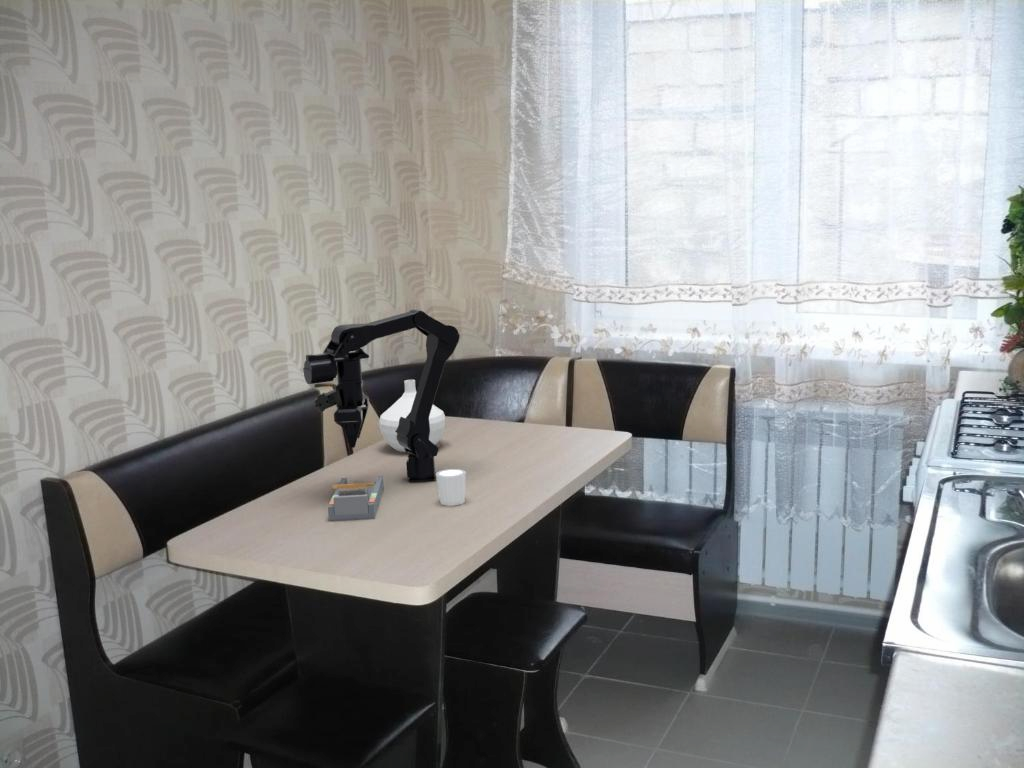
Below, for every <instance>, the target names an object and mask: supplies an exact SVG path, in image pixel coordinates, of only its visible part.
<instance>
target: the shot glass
mask: <svg viewBox="0 0 1024 768" xmlns="http://www.w3.org/2000/svg"><path fill="white" fill-rule="evenodd" d="M466 480H467V471H465V470H464V469H461V468H460V469H459V468H448V469H442V470H440V471H436V483H437V490H438V495H439V502H440V504H441V505H443V506H449V507H450V506H452V507H453V506H454V507H455V506H459V504H460V505H463V504H465V502H466V487H467V485H466V484H467V483H466V482H467V481H466Z"/></svg>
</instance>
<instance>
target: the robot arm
mask: <svg viewBox="0 0 1024 768" xmlns="http://www.w3.org/2000/svg"><path fill="white" fill-rule="evenodd" d="M413 329H416V330H417V331H418V332H419V333H421V334H422V335H424V336H425V337H426V341H425V348H426V349H425V350H426V360H425V362H424V366H423V368H422V369H423V370H422V373H421V376H420V378H419V379H420V380H419V383H418V386H417V389H416V396H415V399H414V402H413V406H412V409H411V412H410V413H409V414H408V416H407V417H406V418H403V417H400V419H399V425H398V428H397V430H396V431H395V432H396V433H397V440H398V443H399V444H400V445H401V446H402V447H404V449H405V452H404V453H406V452H407V453H408V454H407V455H408V456H407V459H406V460H405V461H406V463H405V464H406V478H407V479H408V482H409V483H413V482H415V483H416V482H417V483H418V482H433V481H434V482H435V481H436V480H437V478H436V473H437V471H436V463H435V461H436V460H435V457H437V456H438V451H439V447H438V446H437V444H436V445H434V444H433V443H432V442H431V441H430V440H429V435H430V424H429V415H430V412H431V409H432V405H434V401H435V398H436V395H437V392H438V388H439V385H440V382H441V378H442V376H443V371H444V368H445V365H446V362H447V361H448V360H449V359H450V357H451V356H452V354H454V352H455V350H456V348H457V346H458V344H459V342H460V333H459V331H458V329H457V328H456V327H455V326H453V325H450V324H445V323H443V322H440V321H439V320H437V319H436V318H434V317H432V316H430V315H428V314H427V313H426V312H424V310H418V309H411V310H408V311H407V312H403V313H399V314H396V315H392V316H387V317H385V318H382V319H377V320H374V321H370V322H367V323H366V322H365V323H347V324H340V325H337V326H336V327H334V328H333V331H332V332H331V335H330V340H329V342H328V344H327V345H326V346H325V348H324V350H323V353H320V354H319V353H318V354H305V361H304V364H303V367H302V369H303V370H302V371H303V377H304V380H305V383H306V384H308V385H314V384H322V383H329V382H333V381H334V379H335V378H337V384H336V386H335V388H334V389H333V390H330V391H328V392H322V393H320V394H317V396H316V397H315V399H314V400H313V401H314V403H315V405H314V406H315V408H317V409H318V411H319V413H321V412H324V411H325V410H328V409H330V408H332V407H334V406H336V408H337V409H336V410H335V411H334V413H333V421H334V422H335V424H337V425H339V426H340V427H341V428H342V429H343V431H344V433H345V437H346V439H347V442H348V446H349V448H351V449H353V448H356V445H357V441H358V439H360V438H361V433H362V430H363V426H364V423H365V420H366V417H367V414H368V410H369V406H370V397H369V396H368V395H367V394H366V393H364V389H363V387H364V380H363V378H362V364H361V363H362V362H361V360H363V359H369V358H370V355H369V354H367V353H366V352H365V351H364V350H363V349H362V348H364V347H366V346H367V345H369V344H370V343H372V341H375V340H377V339H381V338H384V337H387V336H391V335H396V334H398V333H401V332H405V331H409V330H413Z"/></svg>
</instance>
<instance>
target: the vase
mask: <svg viewBox="0 0 1024 768" xmlns="http://www.w3.org/2000/svg"><path fill="white" fill-rule="evenodd" d="M403 383H404V392H403V393H402V395H401V397H399V398H398V399H397V400H396V401H395V402H394V403H393V404H392V405H391V406H390V407H388V408H387V410H385V411H384V412H383V413H382V414H380V417H379V421H378V425H379V426H378V427H379V431H380V433H381V435H382V437H383V439H384V441H385V442H386V443H387V444H388V445H389V446H390V447H391V448H392V449H394V450H395V451H397V452H400V453H407V452H405V449H404V447H402V446H401V445H400V444H399V443H398V440H397V433H396V432H395V431H396V430H397V428H398V425H399V419H400V417H403V418H406V417H407V416H408V414H409V413H410V412H411V409H412V406H413V402H414V399H415V396H416V392H417V389H416V380H415V379H406V380H404V381H403ZM429 424H430V435H429V440H430V441H431V442H432V443H433V444H434V445H436V446H437V444H438V442H439V441H440V440H441V438H443V437H442V436H443V433H444V431H445V429H446V425H447V424H446V415H445V412H444V411H443V410H442V409H440V408H439V407H437V406H436V405H435V404H433V405H432V409H431V412H430V415H429Z"/></svg>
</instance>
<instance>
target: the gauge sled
mask: <svg viewBox="0 0 1024 768" xmlns="http://www.w3.org/2000/svg"><path fill="white" fill-rule="evenodd" d="M374 484H375V483H374V482H364V483H363V482H362V483H361V482H360V483H347V484H340V485H339V484H332V485H331V488H332V489H337V488H339V490H338V493H339V496H349V495H367V494H368V486H374ZM368 503H369V494H368Z"/></svg>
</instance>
